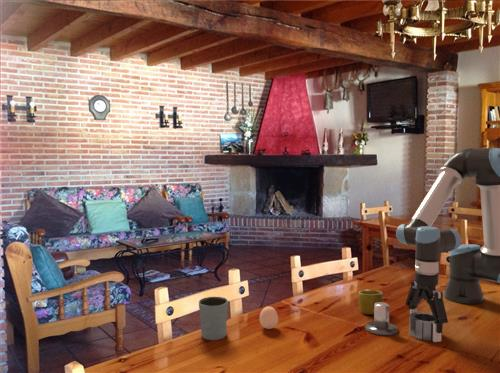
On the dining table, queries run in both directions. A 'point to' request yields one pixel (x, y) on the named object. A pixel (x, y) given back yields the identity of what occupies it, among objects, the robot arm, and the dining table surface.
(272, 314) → the egg
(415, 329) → the ring
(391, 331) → the piston post
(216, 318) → the grey cup
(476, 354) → the dining table surface
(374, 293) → the mug
